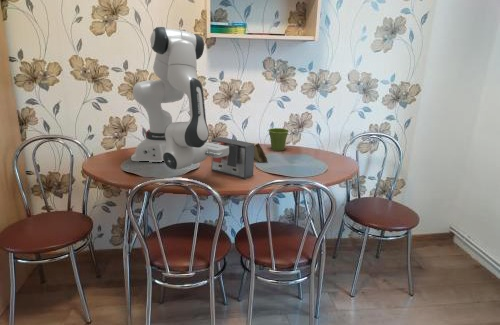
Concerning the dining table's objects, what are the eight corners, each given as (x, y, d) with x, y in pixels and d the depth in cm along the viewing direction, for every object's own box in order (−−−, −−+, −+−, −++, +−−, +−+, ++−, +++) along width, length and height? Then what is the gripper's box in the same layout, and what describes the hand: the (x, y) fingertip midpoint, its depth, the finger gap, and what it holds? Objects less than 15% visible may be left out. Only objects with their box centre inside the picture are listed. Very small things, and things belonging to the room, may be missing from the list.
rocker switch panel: (220, 167, 171) (220, 136, 167) (253, 175, 161) (254, 143, 157) (210, 171, 166) (210, 139, 161) (244, 179, 156) (245, 147, 151)
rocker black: (229, 164, 157) (232, 144, 156) (237, 166, 155) (239, 146, 154) (227, 165, 156) (229, 144, 154) (234, 167, 154) (236, 146, 152)
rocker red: (215, 161, 161) (218, 141, 160) (222, 163, 159) (225, 143, 158) (212, 161, 159) (215, 141, 159) (219, 162, 157) (222, 142, 156)
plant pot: (267, 146, 211) (268, 127, 208) (287, 147, 210) (289, 128, 207) (266, 151, 200) (267, 132, 196) (287, 152, 199) (289, 133, 195)
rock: (246, 152, 188) (246, 155, 179) (256, 140, 187) (257, 142, 178) (262, 165, 190) (263, 168, 180) (272, 152, 189) (274, 155, 179)
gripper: (217, 148, 140) (237, 141, 151) (179, 140, 151) (201, 134, 162) (217, 163, 142) (237, 155, 153) (180, 154, 153) (201, 147, 164)
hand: (218, 144), depth 157 cm, fingers closed, pressing on rocker red
